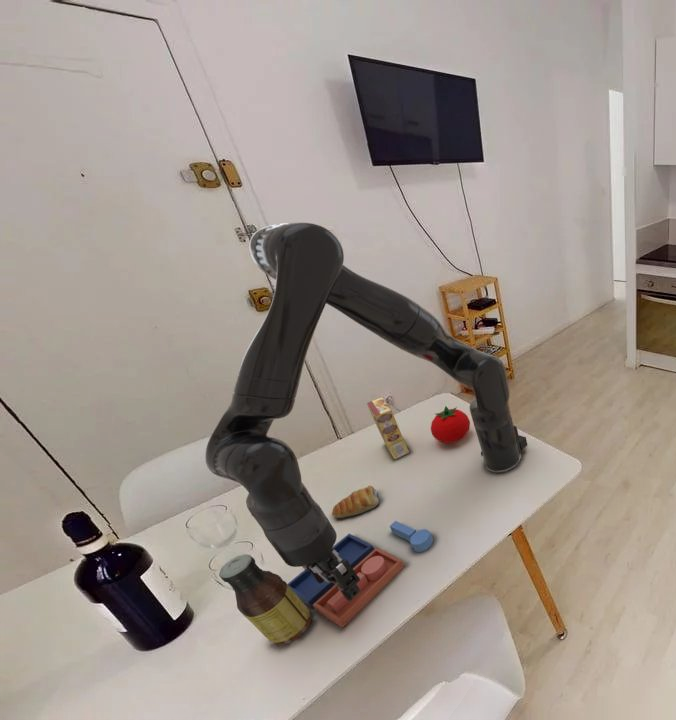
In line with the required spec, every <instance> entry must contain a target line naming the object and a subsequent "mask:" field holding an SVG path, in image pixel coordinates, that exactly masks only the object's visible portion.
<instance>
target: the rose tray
mask: <svg viewBox="0 0 676 720" xmlns="http://www.w3.org/2000/svg"><path fill="white" fill-rule="evenodd" d="M374 556H381V557H383V559H384V561H385V562H386V564H387V571H386V573H385V574H384V575H383V576H382V577H381V578H379V579H378V580H375V581H368V582H369V584H368V585H366V586H365V587H364V588H363V589H362V590H361V591H360V592H359V593H358V594H357V595H356V596H355V597H354V598H353V599H352V600H351V601H350V602H349V603H348V604H347V605H346V606H344V607H343V608H342V609H341V610H340V611H339V612H338V613H336V612H335V611H333V610H332V609H331V608H330V606H329V605H328V603H327V601H328V600H329V599H331V598H332V597H333V596H334V595H335V594H336V593H337V592H338V591H339V590H338V588H337V587H336V586H335V585H334V586H333V587H332V588H331V589H330V590H329V591H328V592H326V593H325V594H324V595H323V596H322V597H321V598H320V599H319V600H317V601H316V602H315V603H314V604H313V608H314V610H315V611H316V612H317V613H319V614H320V615H322V616H323V617H325V618H327V619H328V620H330V621H331V622H332V623H334V624H336V625H337V626H339V627H340V628H342V629H343V628H344V627H345V626H347V624H348V623H349V622H350V621H351V620H352V619H353V618H354V617H356V615H357V614H358V613H359V612H360V611H362V609H363V608H365V606H366V605H367V604H368V603H369V602H370V601H371V600H373V598H375V596H376V595H377V594H378V593H380V591H381V590H382V589H384V588H385V587H386V586H387V584H388V583H390V582H391V580H393V578H395V577H396V575H397V574H399V573H400V572H401V570H403V569H404V567H405V564H404V562H403V561H402V560H403V559H402V560H401V559H400V558H398V557H396V556H395V555H392V554H390V553H388V552H386V551H384V550H383V549H380V548H379V547H376V548H374V550H373V551H372V552H371V553H370V554H369V555H368V556H367V557H365V558H364V559H363V560H362V561H361V562H360V563H359V564H358V565H357V566H355V567H354V568H353V570H354V571H355V573H356V574H358V573H359V572H360V573H361V574H363V573H362V572H361V568H362V566H363V564H364V563H365V562H366V561H367V560H368V559H370V558H372V557H374Z"/></svg>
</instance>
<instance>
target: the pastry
mask: <svg viewBox="0 0 676 720" xmlns="http://www.w3.org/2000/svg"><path fill="white" fill-rule="evenodd" d="M377 496H378V492H377V490H376V489H375V488H374V486H372V485H368V486H367V487H363V488H360V489H358V490H354V491H353V492H351V494H349V495H348V496H347V497H345V498H343V499H341V500H340V501H339V502H338V503H336V504H335V505H334V506H333V508H332V512H331V515H332V517H335V518H338V519H344V518H349V517H355V516H357V515H360V514H363V513H365V512H367V511H371V510H373V509H374V508H376V507H377V506H378V505H379V498H378V497H377Z"/></svg>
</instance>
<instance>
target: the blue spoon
mask: <svg viewBox="0 0 676 720" xmlns="http://www.w3.org/2000/svg"><path fill="white" fill-rule="evenodd" d="M389 528H390V531H391V532H392V534H393V535H395V536H397V537H399V538H401V539H404V540H405V541H408V542H409V543H410V545H411V547H412V550H413V551H414V552H417V553H421V552H425V551H426V550H429V548H430V547H431V546H432V545H433V542H434V538H433V536H432V534H431V532H430V530H429V529H427V528H422V529H418V530H416V529H415V528H412V527H410V526H408V525H407V524H404V523H402V522H400V521H397V520H394V521H393V522H392V523H391V524H390V525H389Z"/></svg>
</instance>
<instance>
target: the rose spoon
mask: <svg viewBox="0 0 676 720" xmlns="http://www.w3.org/2000/svg"><path fill="white" fill-rule="evenodd" d="M386 571H387V564H386V562H385V561H384V559H383V557H381V556H374V557H372V558H370V559H368V560H367V561H366V562H365V563H364V564H363V566H362V568H361V572H362V573H363V574H361V573H360V572H359V573H358V574H357V576H358V577H359V579H360V581H359V582H358V583H357V586H358V587H359V589H360V591H361V590H362V589H363V588H364V587H365V586H366V585H368V584H369V582H368V581H375V580H378V579H379V578H381V577H382V576H383V575H384V574H385V573H386ZM349 602H350V601H348V600H347V599H346V598H345V597H344V595H343V594H342V593H341V591H340V590H339V591H338V592H337V593H336V594H335V595H334V596H333V597H332V598H331V599H329V600H328V601H327V603H328V605H329V606H330V608H331V609H332V610H333V611H335V612H336V613H338V612H339V611H340V610H341V609H342V608H343V607H344V606H346V605H347V604H348V603H349Z"/></svg>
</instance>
